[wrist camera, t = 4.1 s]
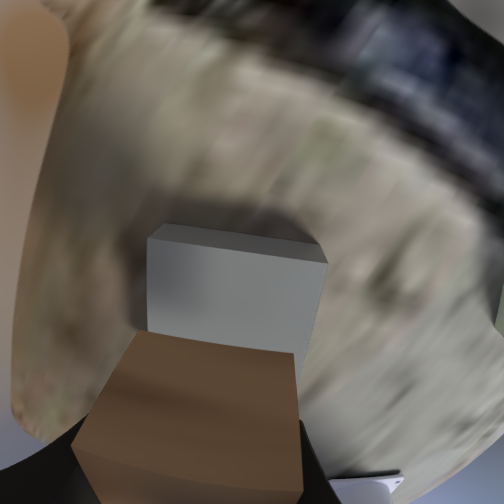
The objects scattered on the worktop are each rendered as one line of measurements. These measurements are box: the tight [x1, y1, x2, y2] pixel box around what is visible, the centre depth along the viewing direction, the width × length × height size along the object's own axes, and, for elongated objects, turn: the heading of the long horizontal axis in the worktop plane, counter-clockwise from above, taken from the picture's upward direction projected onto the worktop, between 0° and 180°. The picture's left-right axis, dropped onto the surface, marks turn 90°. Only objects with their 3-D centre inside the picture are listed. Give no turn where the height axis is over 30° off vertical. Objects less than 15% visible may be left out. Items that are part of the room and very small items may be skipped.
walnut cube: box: [71, 330, 303, 504], centre depth 8 cm, size 5×5×5 cm
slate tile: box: [147, 223, 328, 386], centre depth 17 cm, size 8×8×3 cm
